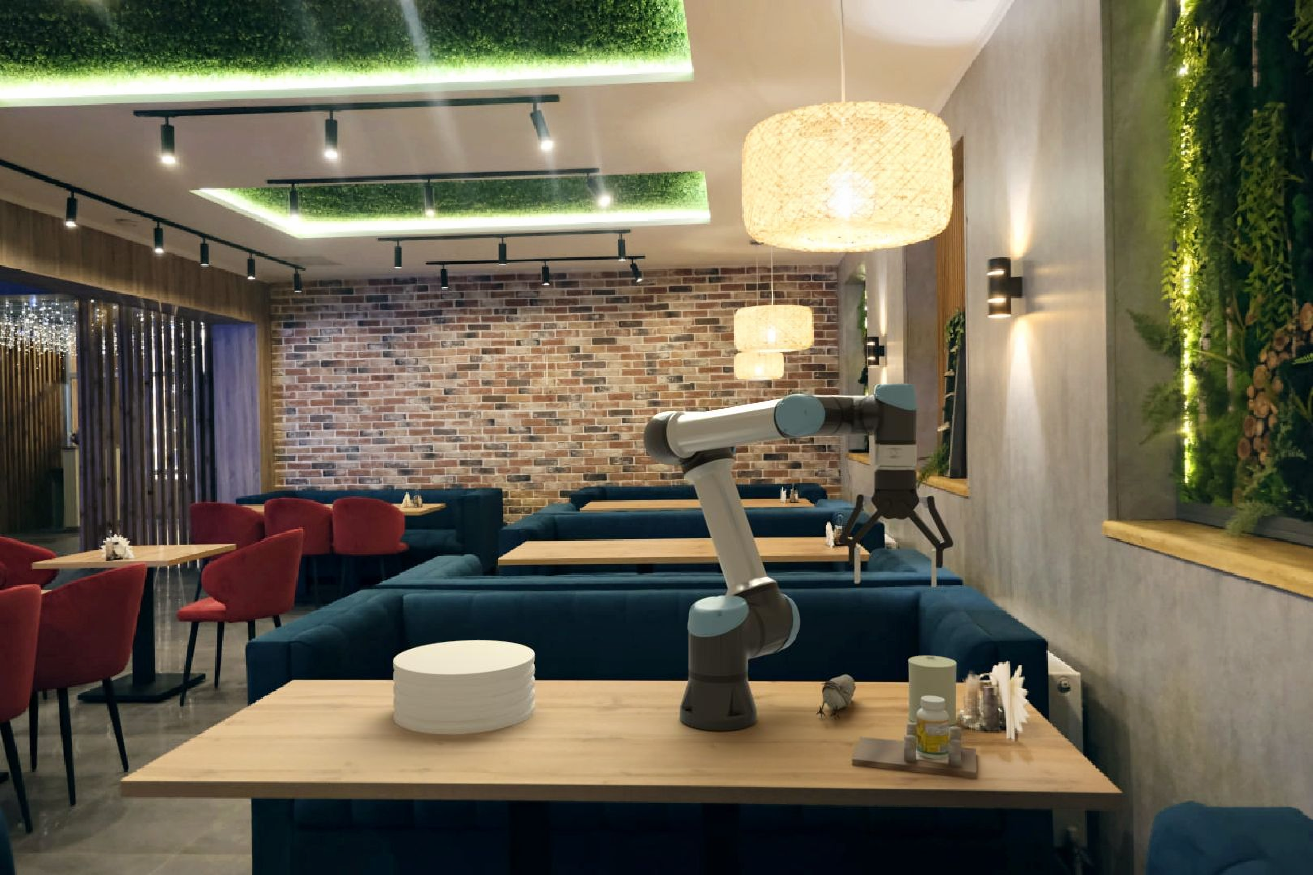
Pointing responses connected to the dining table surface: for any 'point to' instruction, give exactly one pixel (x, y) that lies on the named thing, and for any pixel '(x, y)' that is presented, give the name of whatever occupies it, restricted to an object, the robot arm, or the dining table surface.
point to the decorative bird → (837, 693)
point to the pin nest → (916, 755)
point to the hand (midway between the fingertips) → (895, 584)
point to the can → (932, 683)
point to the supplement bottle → (932, 728)
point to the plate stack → (463, 686)
